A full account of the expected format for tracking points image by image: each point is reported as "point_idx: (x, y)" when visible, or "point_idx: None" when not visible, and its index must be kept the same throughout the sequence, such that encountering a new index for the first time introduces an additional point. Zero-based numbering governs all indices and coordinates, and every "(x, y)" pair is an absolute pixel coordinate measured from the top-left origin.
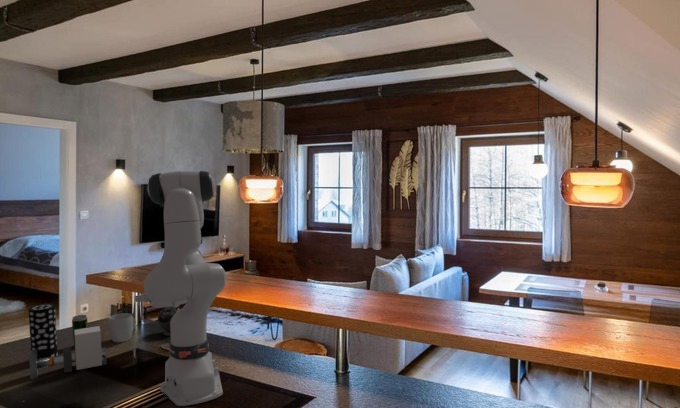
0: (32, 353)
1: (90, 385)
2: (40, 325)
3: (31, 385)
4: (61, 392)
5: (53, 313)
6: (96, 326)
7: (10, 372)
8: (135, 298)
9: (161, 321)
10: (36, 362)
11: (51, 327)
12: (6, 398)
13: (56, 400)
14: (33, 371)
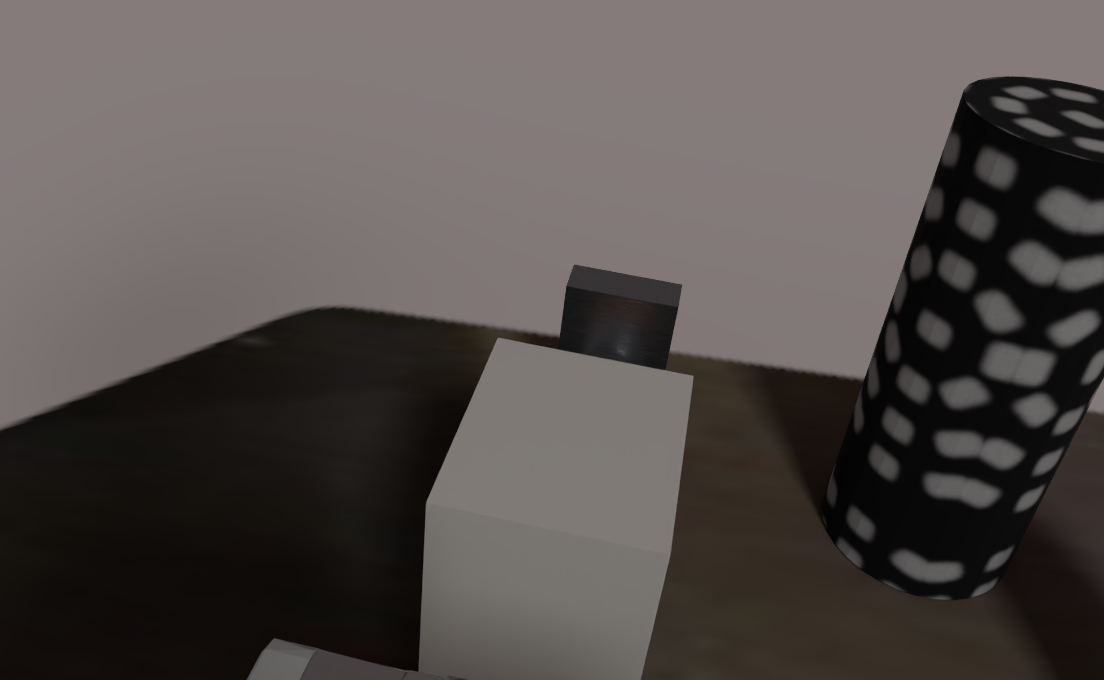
0: (595, 279)
1: (70, 597)
2: (915, 233)
3: (452, 397)
4: (162, 459)
5: (1018, 215)
6: (668, 527)
7: (771, 380)
8: (315, 654)
9: None
10: (560, 341)
11: (938, 316)
12: (368, 311)
13: (68, 419)
14: None
